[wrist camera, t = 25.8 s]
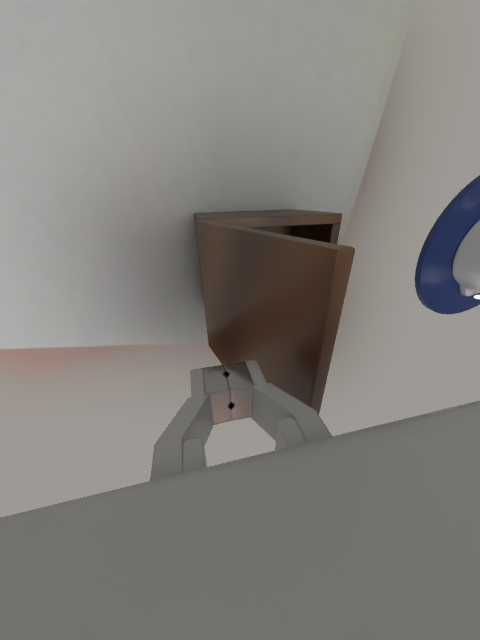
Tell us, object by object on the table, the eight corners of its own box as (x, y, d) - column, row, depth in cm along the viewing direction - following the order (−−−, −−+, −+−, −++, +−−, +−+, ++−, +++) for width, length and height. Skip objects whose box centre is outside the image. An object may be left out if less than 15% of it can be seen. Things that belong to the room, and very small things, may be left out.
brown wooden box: (294, 209, 28) (342, 213, 20) (287, 294, 34) (322, 326, 25) (193, 213, 26) (199, 219, 17) (203, 304, 31) (211, 342, 23)
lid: (356, 247, 7) (338, 250, 6) (308, 464, 12) (297, 471, 12) (204, 219, 17) (194, 220, 17) (215, 343, 23) (208, 345, 22)
